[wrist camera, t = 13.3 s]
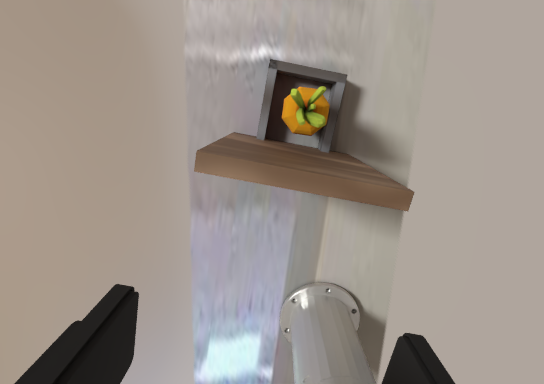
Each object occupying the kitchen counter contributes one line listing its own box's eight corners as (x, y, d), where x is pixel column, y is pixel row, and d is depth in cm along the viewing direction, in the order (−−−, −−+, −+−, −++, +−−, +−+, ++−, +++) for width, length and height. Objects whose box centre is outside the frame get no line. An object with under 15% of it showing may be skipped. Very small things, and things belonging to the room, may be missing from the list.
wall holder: (345, 164, 41) (408, 211, 22) (231, 143, 41) (194, 171, 21) (366, 82, 38) (459, 53, 19) (245, 57, 38) (215, 1, 18)
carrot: (277, 98, 39) (273, 89, 25) (314, 88, 39) (332, 72, 24) (286, 135, 40) (288, 147, 26) (322, 126, 40) (344, 132, 25)
